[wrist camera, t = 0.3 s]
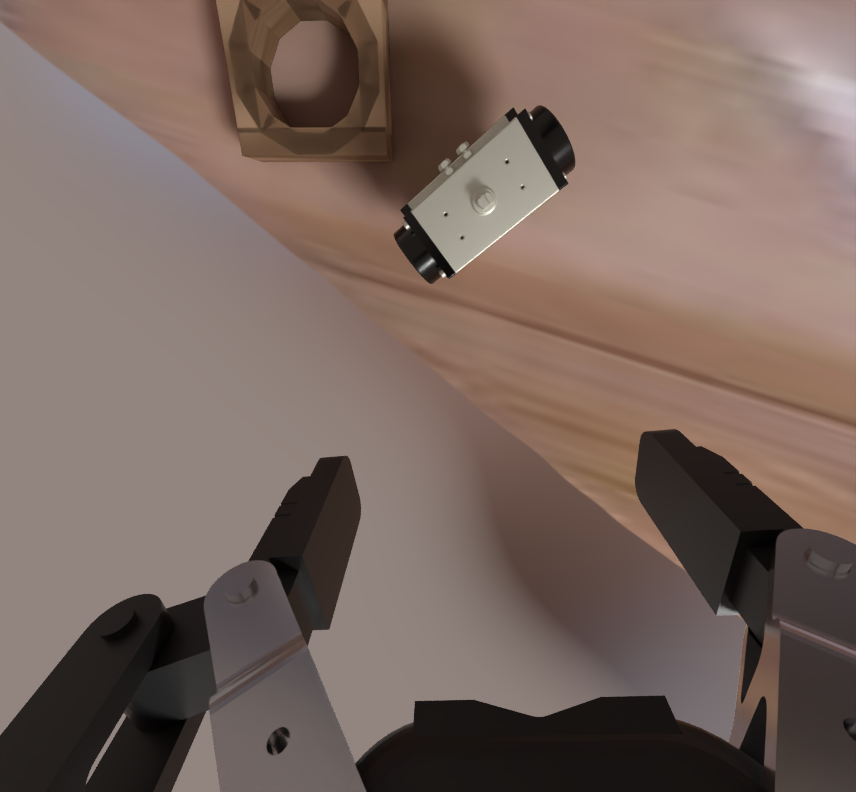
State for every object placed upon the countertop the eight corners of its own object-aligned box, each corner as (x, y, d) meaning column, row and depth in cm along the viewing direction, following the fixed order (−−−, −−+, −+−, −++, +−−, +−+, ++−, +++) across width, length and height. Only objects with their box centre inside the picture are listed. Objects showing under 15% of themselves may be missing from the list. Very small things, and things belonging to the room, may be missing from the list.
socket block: (216, -140, 25) (183, -192, 22) (383, -146, 25) (374, -199, 22) (262, 161, 32) (242, 155, 29) (392, 161, 32) (386, 155, 29)
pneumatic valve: (546, 182, 32) (597, 163, 21) (435, 272, 36) (431, 296, 25) (509, 119, 30) (544, 64, 20) (396, 221, 34) (373, 222, 23)
